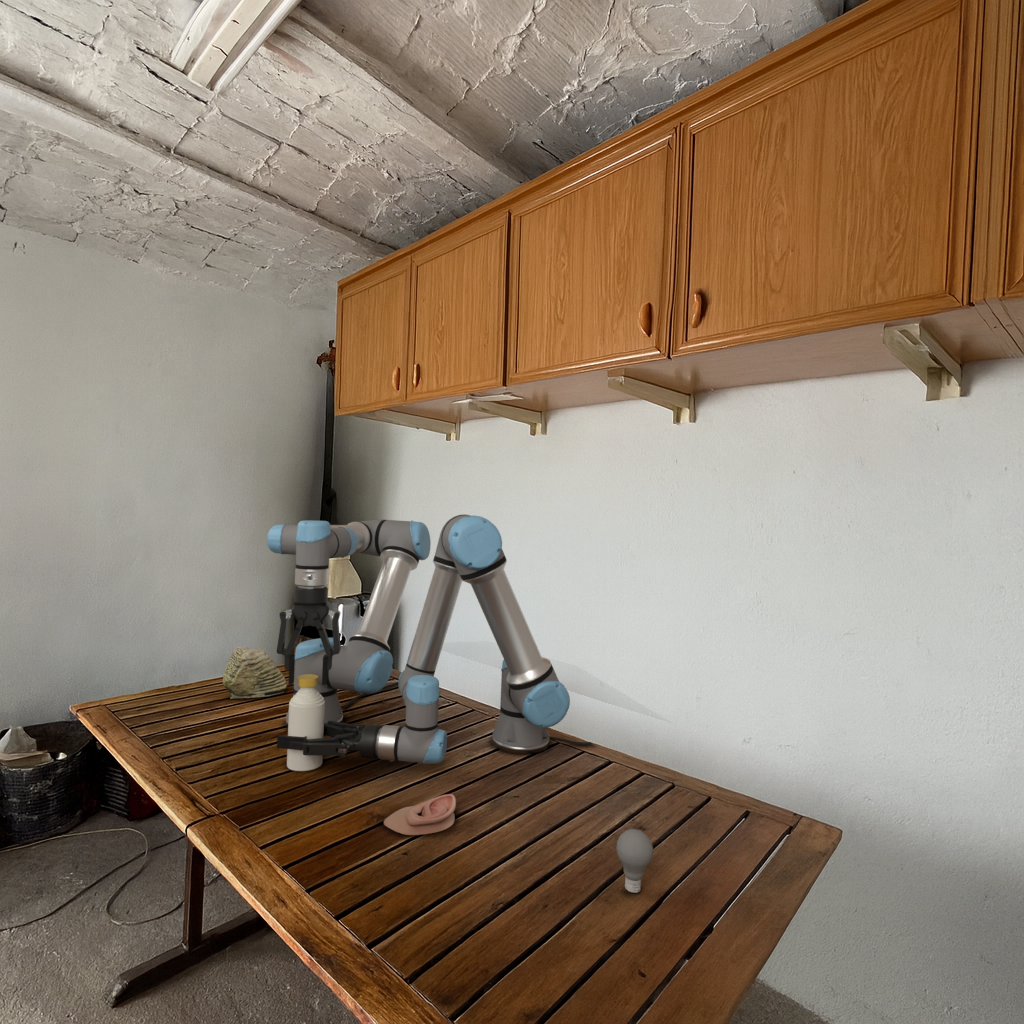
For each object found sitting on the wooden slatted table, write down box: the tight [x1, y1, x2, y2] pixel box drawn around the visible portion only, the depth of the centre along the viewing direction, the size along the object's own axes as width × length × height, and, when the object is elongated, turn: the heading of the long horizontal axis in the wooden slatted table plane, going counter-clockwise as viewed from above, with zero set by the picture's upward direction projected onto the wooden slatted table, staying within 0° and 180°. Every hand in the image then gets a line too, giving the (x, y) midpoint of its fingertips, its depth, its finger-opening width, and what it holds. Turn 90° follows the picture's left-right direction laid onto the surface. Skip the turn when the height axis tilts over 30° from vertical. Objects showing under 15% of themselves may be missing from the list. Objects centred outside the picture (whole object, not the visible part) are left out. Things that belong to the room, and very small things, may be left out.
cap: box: [298, 674, 318, 687], centre depth 149 cm, size 5×5×2 cm
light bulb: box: [615, 828, 654, 894], centre depth 106 cm, size 6×6×10 cm
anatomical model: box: [383, 793, 457, 836], centre depth 125 cm, size 13×4×12 cm
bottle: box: [286, 686, 325, 772], centre depth 149 cm, size 8×8×20 cm
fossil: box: [222, 646, 288, 699], centre depth 198 cm, size 9×18×15 cm, turn 132°
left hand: (307, 683), depth 149 cm, fingers open, 7 cm apart
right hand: (286, 734), depth 150 cm, fingers closed on bottle, 8 cm apart
